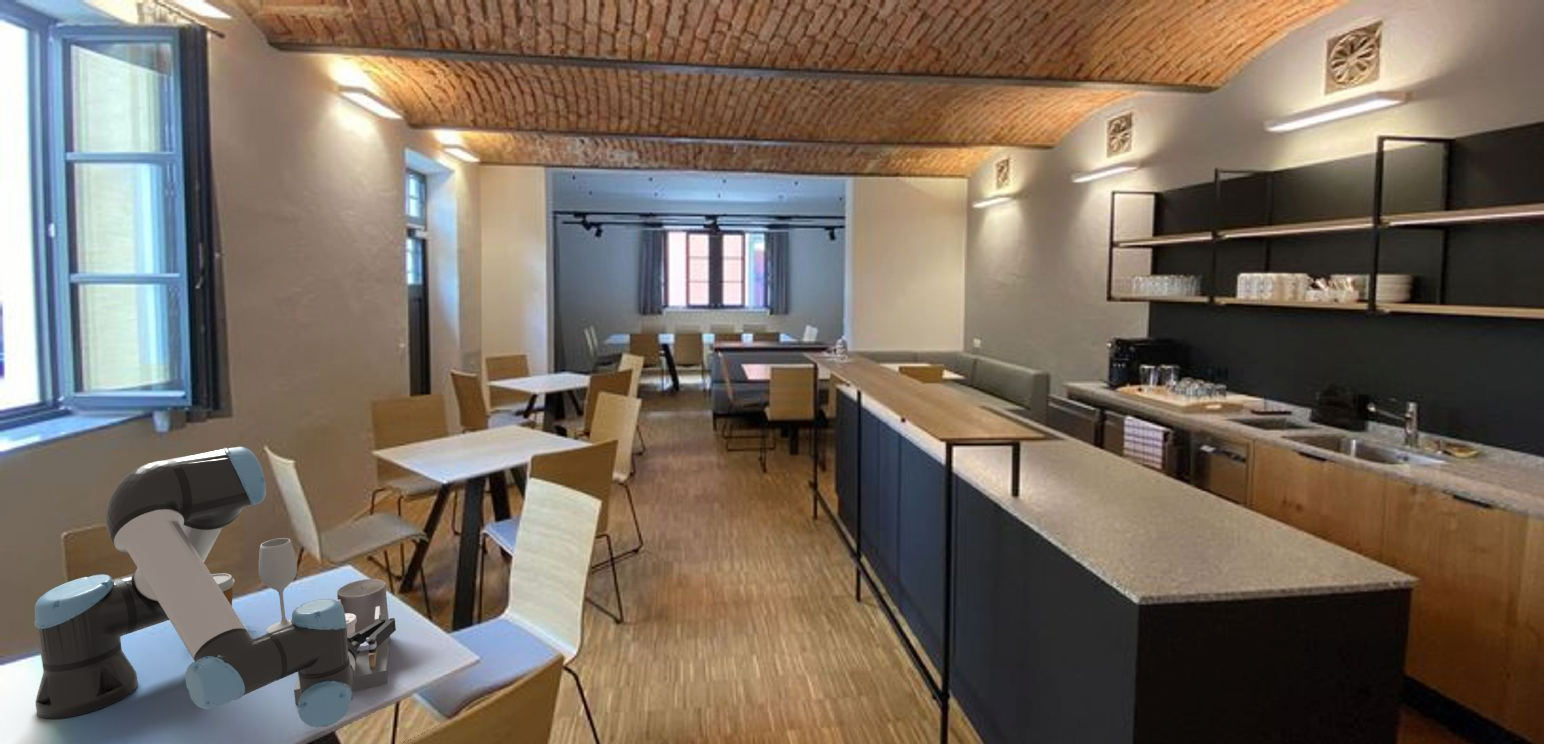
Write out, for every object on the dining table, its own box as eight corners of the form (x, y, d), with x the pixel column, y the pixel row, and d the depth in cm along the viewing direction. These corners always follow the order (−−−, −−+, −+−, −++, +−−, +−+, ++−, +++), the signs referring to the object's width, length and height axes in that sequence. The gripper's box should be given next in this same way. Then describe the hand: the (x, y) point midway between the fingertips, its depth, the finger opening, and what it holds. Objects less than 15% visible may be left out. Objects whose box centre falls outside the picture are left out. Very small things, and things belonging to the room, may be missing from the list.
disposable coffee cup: (188, 628, 182) (182, 580, 180) (236, 615, 188) (230, 569, 186) (192, 642, 175) (186, 592, 173) (242, 628, 181) (236, 580, 179)
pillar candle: (339, 643, 173) (332, 580, 171) (386, 630, 179) (380, 569, 176) (346, 660, 165) (339, 595, 163) (395, 646, 171) (389, 583, 169)
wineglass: (279, 619, 185) (270, 536, 182) (310, 619, 185) (301, 536, 182) (257, 634, 178) (248, 548, 175) (289, 634, 177) (280, 548, 175)
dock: (295, 704, 148) (294, 689, 148) (304, 672, 160) (302, 659, 159) (387, 684, 155) (385, 670, 154) (389, 655, 167) (387, 642, 166)
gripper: (252, 703, 133) (271, 650, 152) (409, 669, 144) (409, 623, 163) (247, 663, 132) (267, 614, 151) (406, 631, 143) (406, 590, 162)
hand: (341, 619), depth 157 cm, fingers open, 13 cm apart
